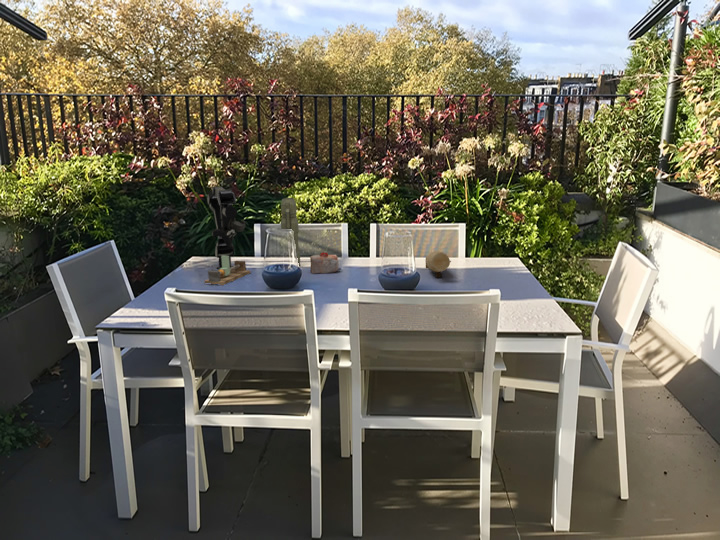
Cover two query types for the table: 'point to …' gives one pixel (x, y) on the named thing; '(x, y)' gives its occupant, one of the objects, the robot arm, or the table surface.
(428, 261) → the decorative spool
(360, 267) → the table surface
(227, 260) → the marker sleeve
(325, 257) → the food item
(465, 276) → the table surface
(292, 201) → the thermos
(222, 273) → the linear slide rail
